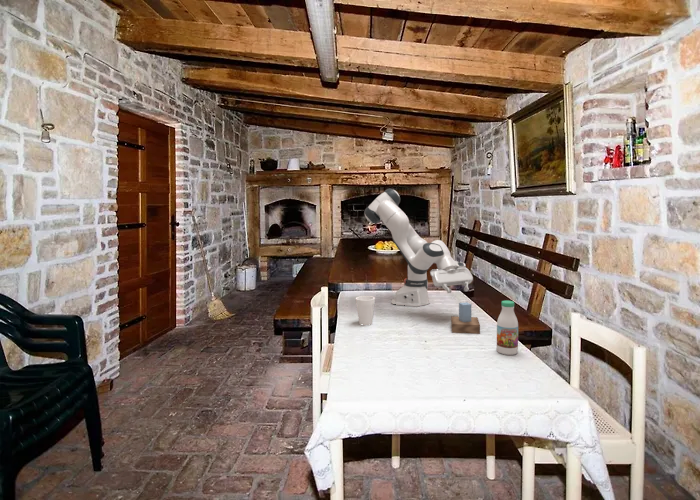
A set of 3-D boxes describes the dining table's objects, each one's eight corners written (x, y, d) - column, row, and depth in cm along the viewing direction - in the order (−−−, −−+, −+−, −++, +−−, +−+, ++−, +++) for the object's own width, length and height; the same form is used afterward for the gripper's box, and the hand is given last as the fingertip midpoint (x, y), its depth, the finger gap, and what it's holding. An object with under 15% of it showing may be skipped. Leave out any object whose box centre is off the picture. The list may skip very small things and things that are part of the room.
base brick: (452, 332, 174) (452, 324, 173) (451, 324, 185) (451, 316, 185) (479, 333, 171) (480, 325, 170) (477, 325, 183) (477, 317, 182)
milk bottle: (492, 348, 153) (493, 299, 151) (511, 347, 154) (512, 298, 152) (502, 356, 146) (503, 304, 143) (521, 354, 146) (522, 303, 144)
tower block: (458, 319, 179) (458, 303, 178) (466, 318, 180) (466, 302, 179) (463, 322, 175) (463, 305, 174) (471, 321, 176) (471, 304, 175)
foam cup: (377, 321, 193) (377, 296, 192) (372, 327, 185) (372, 300, 183) (359, 320, 196) (358, 295, 195) (353, 325, 188) (353, 299, 186)
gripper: (430, 266, 187) (441, 289, 178) (467, 262, 192) (479, 285, 184) (426, 273, 191) (436, 297, 183) (462, 270, 197) (473, 293, 189)
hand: (458, 291), depth 184 cm, fingers open, 8 cm apart
